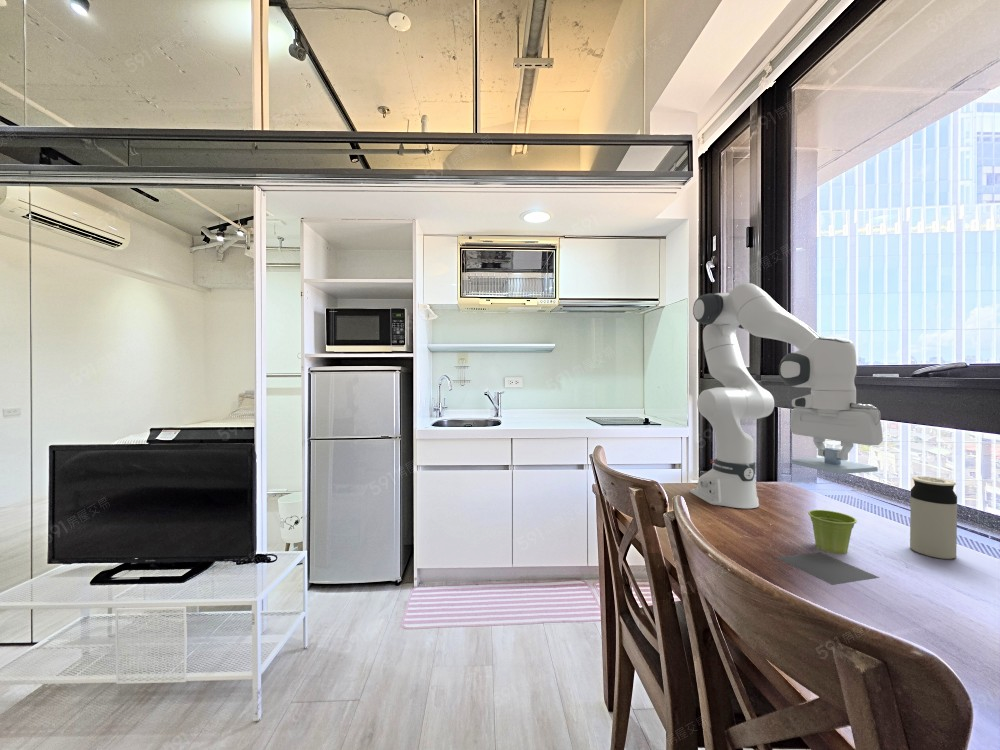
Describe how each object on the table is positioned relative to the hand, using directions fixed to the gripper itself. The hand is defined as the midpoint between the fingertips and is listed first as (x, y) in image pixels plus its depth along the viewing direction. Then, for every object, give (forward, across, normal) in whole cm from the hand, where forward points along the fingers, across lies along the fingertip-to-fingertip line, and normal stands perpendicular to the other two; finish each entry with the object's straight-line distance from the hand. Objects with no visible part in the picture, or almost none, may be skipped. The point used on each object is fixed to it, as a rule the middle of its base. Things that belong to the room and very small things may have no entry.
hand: (832, 458), depth 105 cm
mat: (+23, -7, +12) cm, 27 cm away
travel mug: (+23, -7, -23) cm, 33 cm away
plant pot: (+23, 0, 0) cm, 23 cm away
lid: (+2, 0, 0) cm, 2 cm away
